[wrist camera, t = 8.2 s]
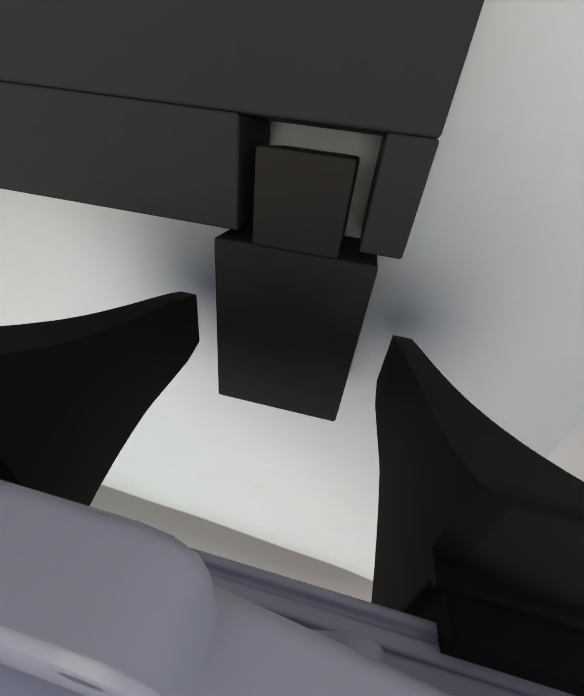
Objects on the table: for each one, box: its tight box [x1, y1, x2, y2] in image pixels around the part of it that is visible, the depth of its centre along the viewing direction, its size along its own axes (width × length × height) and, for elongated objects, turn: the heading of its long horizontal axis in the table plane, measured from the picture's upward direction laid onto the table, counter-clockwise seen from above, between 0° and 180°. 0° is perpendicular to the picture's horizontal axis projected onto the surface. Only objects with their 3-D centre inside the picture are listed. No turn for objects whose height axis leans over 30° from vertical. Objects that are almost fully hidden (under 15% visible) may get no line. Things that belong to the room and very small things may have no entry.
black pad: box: [215, 145, 378, 421], centre depth 11 cm, size 5×9×3 cm, turn 174°
